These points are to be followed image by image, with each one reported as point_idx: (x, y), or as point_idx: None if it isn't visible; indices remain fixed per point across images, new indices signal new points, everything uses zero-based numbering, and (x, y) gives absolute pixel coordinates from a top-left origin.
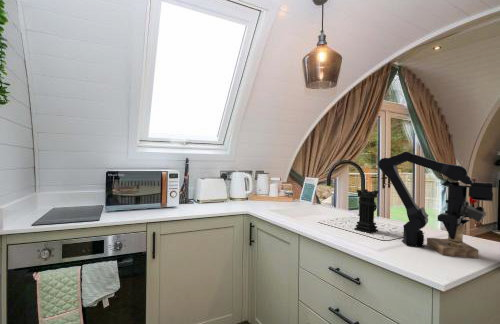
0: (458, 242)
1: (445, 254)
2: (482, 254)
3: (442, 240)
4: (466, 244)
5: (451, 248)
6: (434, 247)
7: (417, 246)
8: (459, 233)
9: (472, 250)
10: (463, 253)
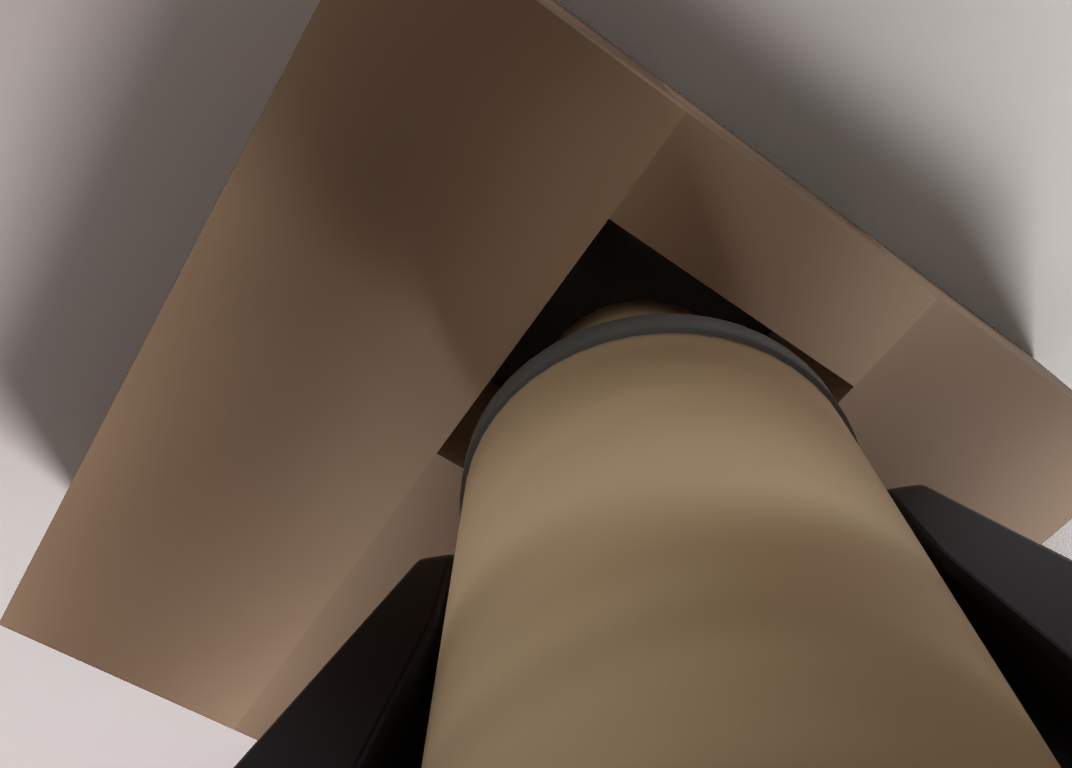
0: (792, 356)
1: (1003, 336)
2: (2, 9)
3: None
4: (194, 349)
5: (989, 333)
6: None
7: None
8: (891, 552)
9: (536, 1)
10: (720, 129)
